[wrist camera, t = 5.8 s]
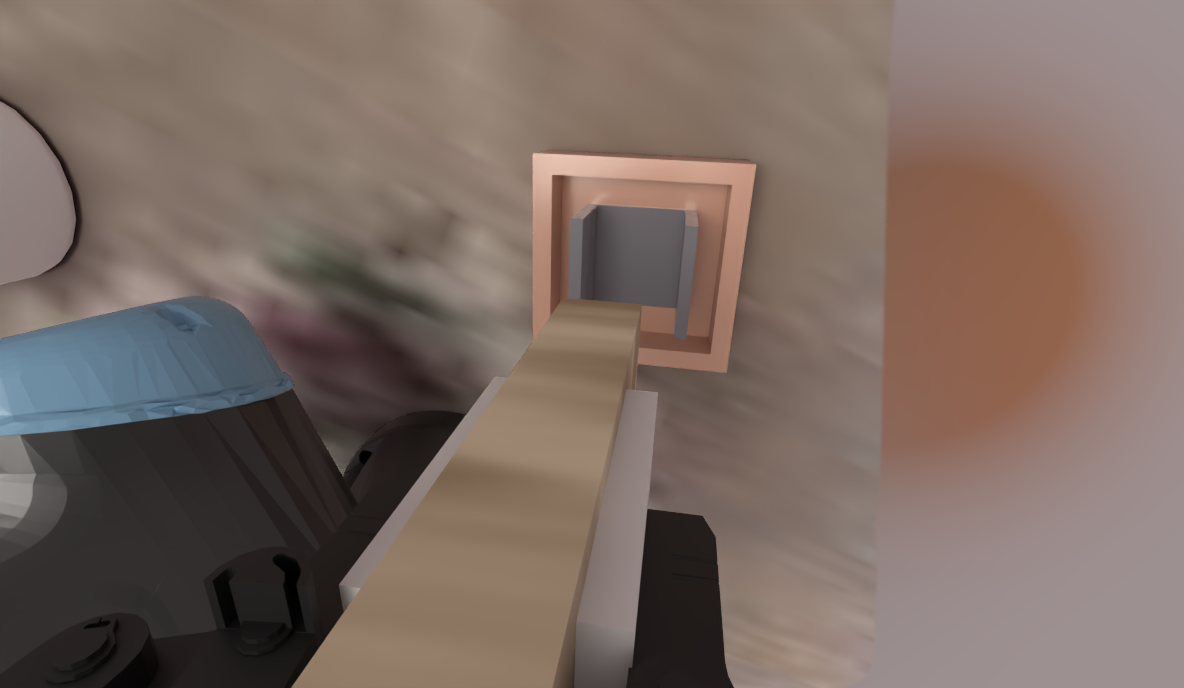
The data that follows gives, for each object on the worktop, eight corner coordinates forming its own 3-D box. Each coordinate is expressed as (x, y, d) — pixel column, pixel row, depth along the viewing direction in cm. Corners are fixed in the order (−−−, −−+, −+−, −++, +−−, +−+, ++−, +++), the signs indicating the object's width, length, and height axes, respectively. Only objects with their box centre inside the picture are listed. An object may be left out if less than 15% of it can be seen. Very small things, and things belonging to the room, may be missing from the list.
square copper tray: (722, 349, 34) (730, 393, 28) (546, 332, 35) (520, 372, 30) (748, 160, 30) (763, 168, 24) (548, 150, 31) (518, 155, 26)
